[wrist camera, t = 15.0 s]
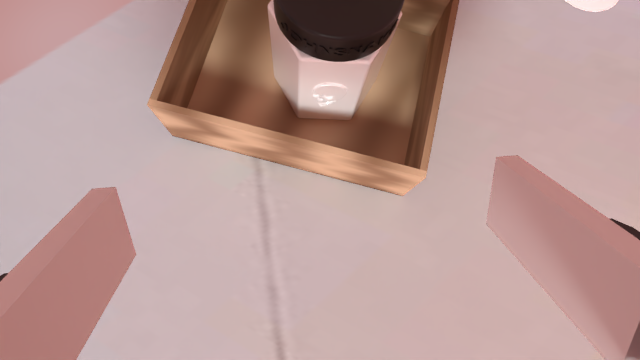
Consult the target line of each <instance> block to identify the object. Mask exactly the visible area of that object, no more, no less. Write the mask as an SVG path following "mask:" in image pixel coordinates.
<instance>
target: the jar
mask: <svg viewBox="0 0 640 360" xmlns="http://www.w3.org/2000/svg"><path fill="white" fill-rule="evenodd" d="M404 1H405V0H271V1H270V2H269V4H268V6H267V8H268V18H269V28H270V39H271V49H272V59H273V70H274V77H275V79H276V80H277V82H278V84H279V86H280V87H281V89H282V91H283V93H284V94H285V96H286V98H287V100H288V101H289V103H290V105H291V106H292V108H293V110H294V112H295V114H296V115H297V117H298V118H307V119H332V120H351V119H352V117H353V116H354V114H355V113H356V111H357V110H358V108H359V106H360V105H361V103H362V102H363V100H364V98H365V97H366V95H367V94H368V92H369V90H370V89H371V87H372V86H373V84H374V83H375V81H376V78H377V76H378V73H379V71H380V68H381V66H382V63H383V61H384V59H385V56H386V54H387V51H388V49H389V46H390V44H391V41H392V39H393V36H394V34H395V31H396V29H397V27H398V24H399V22H400V19H401V17H402V11H401V9H402V7H403V4H404Z"/></svg>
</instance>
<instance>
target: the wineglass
mask: <svg viewBox="0 0 640 360" xmlns="http://www.w3.org/2000/svg"><path fill="white" fill-rule="evenodd" d="M565 1H566V2H568V3H569V4H571V5H572V6H574V7H576V8H579V9H581V10H584V11H591V12H599V11H604V10H608V9H609V8H611V7H613V6H614V5H616V3H617V2H618V1H619V0H565Z"/></svg>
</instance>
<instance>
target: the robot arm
mask: <svg viewBox="0 0 640 360" xmlns="http://www.w3.org/2000/svg"><path fill="white" fill-rule="evenodd" d="M486 224H487V226H488V227H489V228H490V229H491V230H492V231H493V232H494V233H495V235H496V236H497V237H498V238H499V239H500V240H501V241H502V243H503V244H504V245H505V246H506V247H507V248H508V249H509V251H510V252H511V253H512V254H513V255H514V256H515V257H516V259H517V260H518V261H519V262H520V263H521V264H522V265H523V267H524V268H525V269H526V270H527V271H528V272H529V273H530V275H531V276H532V277H533V278H534V279H535V280H536V281H537V283H538V284H539V285H540V286H541V287H542V288H543V289H544V291H545V292H546V293H547V294H548V295H549V296H550V297H551V298H552V300H553V301H554V302H555V303H556V304H557V305H558V306H559V308H560V309H561V310H562V311H563V312H564V313H565V314H566V316H567V317H568V318H569V319H570V320H571V321H572V322H573V324H574V325H575V326H576V327H577V328H578V329H579V330H580V332H581V333H582V334H583V335H584V336H585V337H586V338H587V340H588V341H589V342H590V343H591V344H592V345H593V346H594V348H595V349H596V350H597V351H598V352H599V353H600V354H601V356H602V357H603V358H604V359H605V360H640V232H639V231H637V230H636V229H634V228H633V227H630V226H628V225H626V224H623V223H621V222H619V221H616V220H614V219H609V218H607V217H606V216H604V215H603V214H601V213H600V212H598V211H597V210H596V209H594V208H593V207H591V206H590V205H588V204H587V203H585V202H584V201H583V200H581V199H580V198H578V197H577V196H575V195H574V194H572V193H571V192H570V191H568V190H567V189H565V188H564V187H562V186H561V185H559V184H558V183H557V182H555V181H554V180H552V179H551V178H549V177H548V176H546V175H545V174H544V173H542V172H541V171H539V170H538V169H536V168H535V167H533V166H532V165H531V164H529V163H528V162H526V161H525V160H523V159H522V158H520V157H519V156H518V155H516V156H503V157H496V162H495V169H494V175H493V182H492V188H491V195H490V202H489V208H488V215H487V221H486ZM135 256H136V252H135V249H134V246H133V243H132V239H131V236H130V233H129V229H128V226H127V223H126V220H125V216H124V213H123V210H122V206H121V203H120V200H119V197H118V193H117V190H116V187H110V188H97V189H92V190H91V191H90V192H89V193H88V194H87V195H86V196H85V197H84V198H83V199H82V200H81V201H80V202H79V203H78V204H77V205H76V206H75V207H74V208H73V209H72V210H71V211H70V212H69V213H68V214H67V215H66V216H65V217H64V218H63V219H62V220H61V221H60V222H59V223H58V224H57V225H56V226H55V227H54V228H53V229H52V230H51V231H50V232H49V233H48V234H47V235H46V236H45V237H44V238H43V239H42V240H41V241H40V242H39V243H38V244H37V245H36V246H35V247H34V248H33V249H32V250H31V251H30V252H29V253H28V254H27V255H26V256H25V257H24V258H23V259H22V260H21V261H20V262H19V263H18V264H17V265H16V266H15V267H14V268H13V269H12V270H11V271H10V272H9V273H6V274H3V275H1V276H0V360H76V359H77V357H78V355H79V354H80V352H81V350H82V348H83V347H84V345H85V343H86V341H87V340H88V338H89V336H90V334H91V333H92V331H93V329H94V327H95V326H96V324H97V322H98V320H99V319H100V317H101V315H102V313H103V312H104V310H105V308H106V306H107V305H108V303H109V301H110V299H111V298H112V296H113V294H114V292H115V291H116V289H117V287H118V285H119V284H120V282H121V280H122V278H123V277H124V275H125V273H126V271H127V270H128V268H129V266H130V264H131V263H132V261H133V259H134V257H135Z"/></svg>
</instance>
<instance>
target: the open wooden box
mask: <svg viewBox="0 0 640 360" xmlns="http://www.w3.org/2000/svg"><path fill="white" fill-rule="evenodd" d="M270 1H271V0H189V2H188V5H187V7H186V10H185V12H184V15H183V17H182V20H181V22H180V25H179V27H178V30H177V32H176V35H175V37H174V40H173V42H172V44H171V47H170V49H169V52H168V54H167V57H166V59H165V62H164V64H163V67H162V69H161V72H160V74H159V77H158V79H157V82H156V84H155V87H154V89H153V91H152V94H151V96H150V99H149V101H148V104H147V105H148V107H149V108H150V109H151V110H152V111H153V113H154V114H155V115H156V116H157V118H158V119H159V120H160V121H161V122H162V124H163V125H164V126H165V127H166V128H167V130H168V131H169V132H170V133H171V134H172V136H175V137H179V138H183V139H187V140H191V141H194V142H198V143H202V144H206V145H210V146H214V147H217V148H221V149H225V150H229V151H233V152H236V153H240V154H244V155H248V156H252V157H256V158H259V159H263V160H267V161H271V162H275V163H278V164H282V165H286V166H290V167H294V168H298V169H301V170H305V171H309V172H313V173H317V174H320V175H324V176H328V177H332V178H336V179H339V180H343V181H347V182H351V183H355V184H359V185H362V186H366V187H370V188H374V189H378V190H381V191H385V192H389V193H393V194H397V195H401V196H403V195H405V194H406V193H407V192H408V191H410V190H411V189H412V188H413V187H415V186H416V185H417V184H418V183H420V182H421V181H422V180H424V179H425V178H426V173H427V168H428V163H429V157H430V152H431V147H432V141H433V136H434V131H435V126H436V120H437V115H438V110H439V104H440V99H441V94H442V88H443V83H444V78H445V73H446V67H447V62H448V57H449V51H450V46H451V41H452V36H453V30H454V25H455V20H456V14H457V9H458V4H459V0H405V1H404V4H403V7H402V9H401V11H402V17H401V19H400V22H399V24H398V27H397V29H396V31H395V34H394V36H393V39H392V41H391V44H390V46H389V49H388V51H387V54H386V56H385V59H384V61H383V63H382V66H381V68H380V71H379V73H378V76H377V78H376V81H375V83H374V84H373V86H372V87H371V89H370V90H369V92H368V94H367V95H366V97H365V98H364V100H363V102H362V103H361V105H360V106H359V108H358V110H357V111H356V113H355V114H354V116H353V117H352V119H351V120H332V119H307V118H298V117H297V115H296V114H295V112H294V110H293V108H292V106H291V105H290V103H289V101H288V100H287V98H286V96H285V94H284V93H283V91H282V89H281V87H280V86H279V84H278V82H277V80H276V79H275V77H274V70H273V59H272V49H271V39H270V28H269V18H268V8H267V6H268V4H269V2H270Z"/></svg>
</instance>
